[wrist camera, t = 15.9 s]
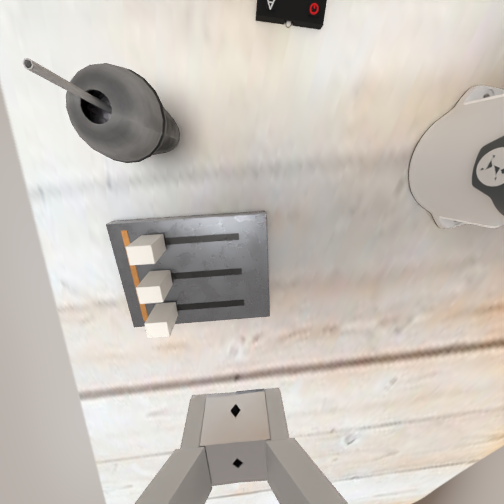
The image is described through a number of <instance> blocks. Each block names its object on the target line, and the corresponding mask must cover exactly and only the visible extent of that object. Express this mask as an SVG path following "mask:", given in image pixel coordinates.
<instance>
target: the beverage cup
mask: <svg viewBox="0 0 504 504" xmlns="http://www.w3.org/2000/svg"><path fill="white" fill-rule="evenodd" d="M23 65H24V67H25V68H26V69H28V70H30V71H32V72H34V73H35V74H37V75H39V76H41V77H43V78H45V79H47V80H49V81H50V82H52V83H54V84H56V85H58V86H60V87H62V88H63V89H65V90H67V93H66V108H67V111H68V114H69V117H70V120H71V123H72V125H73V127H74V128H75V130H76V131H77V133H78V134H79V136H80V137H81V138H82V139H83V140H84V141H85V142H86V143H87V144H88V145H89V146H90V147H91V148H93V149H94V150H96V151H98V152H99V153H101V154H103V155H105V156H107V157H109V158H111V159H113V160H116V161H120V162H125V163H131V162H140V161H142V160H144V159H146V158H148V157H150V156H151V155H154V154H160V153H166V152H168V151H170V150H172V149H174V148H175V147H176V146H177V144H178V141H179V135H180V134H179V129H178V127H177V125H176V123H175V121H174V119H173V118H172V117H171V116H170V115H169V113H168V112H167V111H166V110H165V109H164V107H163V105H162V103H161V101H160V99H159V97H158V95H157V93H156V91H155V90H154V89H153V88H152V87H151V85H150V84H149V83H148V82H147V81H146V80H145V79H144V78H143V77H141V76H140V75H138V74H137V73H135V72H133V71H132V70H130V69H126V68H123V67H119V66H115V65H111V64H108V63H104V64H94V65H89V66H87V67H85V68H83V69H82V70H80V71H78V72H77V73H76V75H75V76H74V77H73V79H72V80H71V81H70V82H68V81H66V80H65V79H63V78H61V77H60V76H58V75H56V74H54V73H53V72H51V71H49V70H47V69H46V68H44V67H42V66H41V65H39V64H37V63H35V62H34V61H32V60H30V59H29V58H26V59H24V61H23Z"/></svg>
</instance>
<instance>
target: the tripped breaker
mask: <svg viewBox="0 0 504 504" xmlns="http://www.w3.org/2000/svg"><path fill="white" fill-rule="evenodd" d="M177 317H178V312H177V307H176V302H170V303H157V304H156V305H155V306H154V308H153V310H152V311H151V313H150V315H149V317H148V318H147V320H146V322H145V323H144V325H145V329H146V333H147V336H148V338H157V337H169V336H170V334H171V332H172V329H173V327H174V324H175V322H176V319H177Z"/></svg>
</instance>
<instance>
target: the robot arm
mask: <svg viewBox="0 0 504 504" xmlns="http://www.w3.org/2000/svg"><path fill="white" fill-rule="evenodd" d="M483 96H484V98H483ZM409 183H410V188H411V191H412V194H413V196H414V198H415V199H416V201H417V202H418V203H419V204H420V205H421V206H422V207H423V208H425V209H426V210H427V211H429V212H430V213H431V214H432V216H433V218H434V220H435V222H436V224H437V225H438V227H440V228H445V229H449V228H454V227H457V226H461V225H465V224H473V225H478V226H483V227H488V228H498V227H499V226H502V225H504V89H500V88H495V87H490V86H486V85H479V86H474V87H471V88H470V89H469V90H467V91H466V93H465V94H464V95H463V96H462V97H461V99H460V100H459V101H458V103H457V104H456V106H455V107H454V108H453V109H452V110H451V111H449V112H448V113H447V114H445V115H444V116H443V117H441V118H440V119H439V120H437V121H436V122H435V123H434V124H433V125H432V126H431V127H430V128H429V129H428V130H427V131H426V133H425V134H424V135H423V137H422V138H421V140H420V141H419V143H418V145H417V147H416V149H415V151H414V153H413V156H412V159H411V163H410V169H409ZM265 480H268V484H269V485H270V487H271V489H272V491H273V492H274V494H275V496H276V498H277V500H278V501H279V503H280V504H348V503H347V502H346V500H345V499H344V498H343V497H342V496H341V494H340V493H339V492H338V491H337V490H336V488H335V487H334V486H333V485H332V483H331V482H330V481H329V480H328V479H327V477H326V476H325V475H324V474H323V472H322V471H321V470H320V469H319V468H318V466H317V465H316V464H315V463H314V462H313V460H312V459H311V458H310V457H309V455H308V454H307V453H306V452H305V451H304V449H303V448H302V447H301V446H300V445H299V443H298V442H297V441H296V440H295V438H289V434H288V428H287V423H286V418H285V413H284V407H283V402H282V397H281V392H280V389H279V388H270V389H265V390H264V389H256V390H247V391H237V392H232V393H215V394H201V395H192V397H191V400H190V403H189V408H188V413H187V418H186V423H185V428H184V433H183V438H182V443H181V448H180V449H175V451H174V452H173V453H172V455H171V456H170V457H169V459H168V460H167V461H166V463H165V464H164V465H163V467H162V468H161V469H160V471H159V472H158V473H157V475H156V476H155V477H154V479H153V480H152V481H151V483H150V484H149V485H148V487H147V488H146V489H145V491H144V492H143V493H142V495H141V496H140V497H139V498H138V500H137V501H136V502H135V504H205V502H206V500H207V498H208V496H209V494H210V492H211V490H212V486H216V485H223V484H231V483H238V482H251V481H265Z"/></svg>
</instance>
